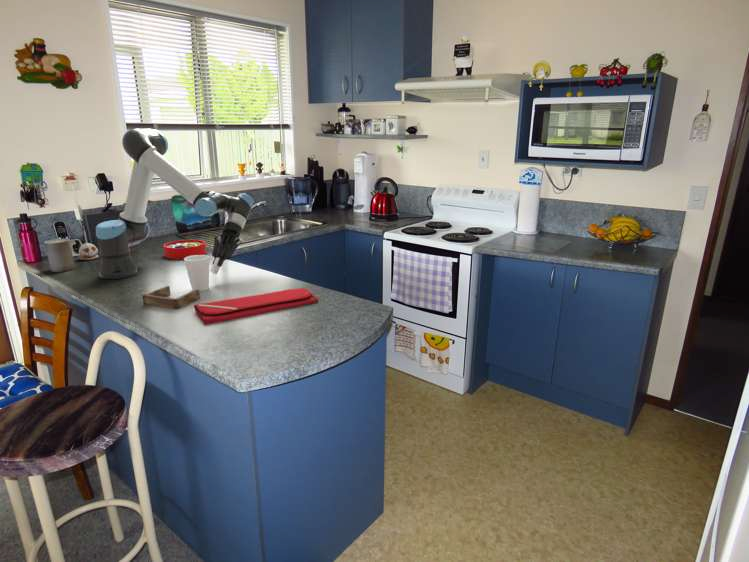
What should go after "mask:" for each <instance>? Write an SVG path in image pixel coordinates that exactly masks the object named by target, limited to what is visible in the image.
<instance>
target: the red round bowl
mask: <svg viewBox="0 0 749 562" xmlns="http://www.w3.org/2000/svg"><path fill="white" fill-rule="evenodd" d="M163 250H164V251H163V252H164V257H165V258H166V259H169V260H184V258H186V257H189V256H194V255H206V254H207V249H206V241H205V240H201V239H181V240H176V241H170V242H167V243H164V244H163Z"/></svg>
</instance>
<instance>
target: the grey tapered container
mask: <svg viewBox="0 0 749 562" xmlns="http://www.w3.org/2000/svg"><path fill="white" fill-rule="evenodd" d="M44 246H45V250H46V254H47V255H46V256H47V260H48V263H49V267H50V271H51V272H54V273H62V272H68V271H71V270H75V268H76V265H75V261H74V256H73V251H72V247H71V246H72V245H71V243H70V239H69V238H53V239H49V240H45V241H44Z"/></svg>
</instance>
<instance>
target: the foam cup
mask: <svg viewBox="0 0 749 562" xmlns="http://www.w3.org/2000/svg"><path fill="white" fill-rule="evenodd" d="M210 261H211V260H210V256H209V255H206V254H205V255H194V256H189V257H186V258H184V259H183V262H184V266H185V269H186V272H187V273H186V274H187V275H188V279H189V283H190V286H191V287H190V288H191V290H192V291H194V290H199V293H200V292H206V291H208V290H209V288H210V263H211V262H210ZM192 291H191V292H192Z"/></svg>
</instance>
